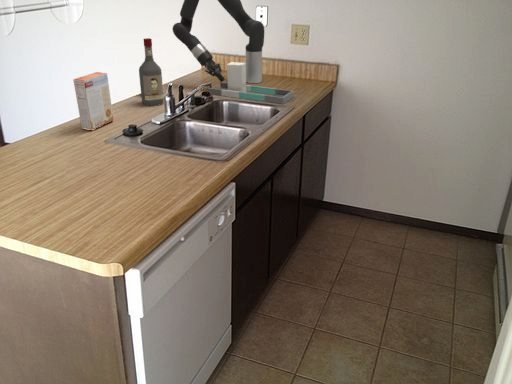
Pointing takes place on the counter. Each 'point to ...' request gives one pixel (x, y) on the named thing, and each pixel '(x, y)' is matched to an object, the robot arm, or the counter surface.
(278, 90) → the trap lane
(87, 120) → the cracker box
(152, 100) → the liquor
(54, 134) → the counter surface
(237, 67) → the skincare box
